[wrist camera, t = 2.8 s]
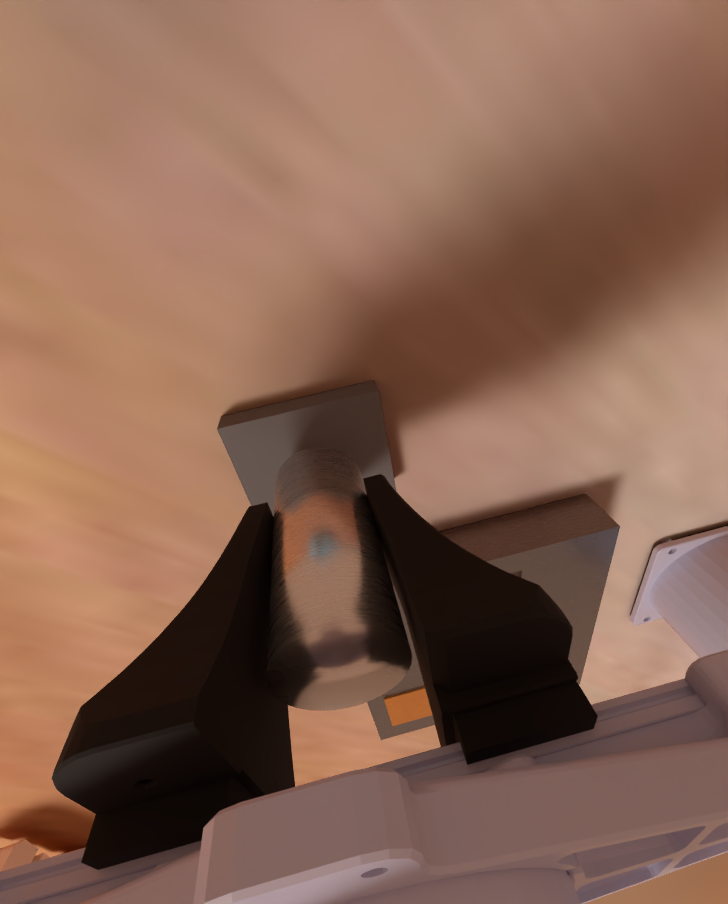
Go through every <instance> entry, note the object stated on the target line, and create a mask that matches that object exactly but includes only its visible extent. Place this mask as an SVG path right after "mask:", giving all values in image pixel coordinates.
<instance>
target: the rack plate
mask: <svg viewBox="0 0 728 904" xmlns="http://www.w3.org/2000/svg"><path fill="white" fill-rule="evenodd" d="M619 528H620V526H619V525H618V524H617V523H616V522H615V521H614V520H613V519H612V518H611V517H610V516H609V515H608V514H606V513H605V512H604V511H603V510H602V509H601V508H600V507H599V506H598V505H597V504H596V503H595V502H594V501H593V500H592V499H591V498H590V497H589V496H587V495H586V494H584V495H580V496H576V497H572V498H568V499H565V500H561V501H557V502H553V503H549V504H545V505H541V506H537V507H534V508H530V509H526V510H522V511H518V512H514V513H510V514H507V515H503V516H499V517H495V518H491V519H487V520H483V521H479V522H476V523H472V524H468V525H464V526H460V527H456V528H452V529H449V530H445V531H441V532H440V533H442V534H443V535H444V536H446V537H447V538H449V539H450V540H451V541H453V542H454V543H456V544H457V545H459V546H460V547H462V548H463V549H465V550H467V551H469V552H470V553H472V554H474V555H476V556H477V557H479V558H481V559H483V560H484V561H486V562H488V563H490V564H492V565H494V566H496V567H498V568H500V569H502V570H504V571H506V572H508V573H511V574H513V575H516V576H518V577H520V578H523V579H525V580H528V581H530V582H533V583H535V584H538V585H540V586H541V587H542V589H543V590H544V591H545V592H546V593H547V594H548V595H549V596H550V597H551V598H552V599H553V601H554V602H555V603H556V604H557V605H558V606H559V608H560V609H561V610H562V612H563V613H564V614H565V616H566V617H567V619H568V621H569V622H570V624H571V626H572V627H573V637H572V642H571V647H570V652H569V657H568V660H569V661H570V663H571V665H572V666H573V668H574V669H575V671H576V673H577V675H578V680H576V681H577V683H578V684H580V681H581V677H582V673H583V669H584V665H585V662H586V658H587V654H588V650H589V646H590V642H591V638H592V634H593V630H594V626H595V622H596V618H597V615H598V611H599V607H600V603H601V599H602V595H603V591H604V587H605V583H606V579H607V575H608V572H609V568H610V564H611V560H612V556H613V552H614V548H615V544H616V540H617V536H618V532H619ZM390 578H391V577H390ZM391 581H392V579H391ZM392 585H393V582H392ZM393 588H394V592H395V595H396V599H397V602H398V606H399V610H400V613H401V617H402V620H403V624H404V627H405V631H406V634H407V638H408V641H409V645H410V649H411V652H412V663H411V666H410V669H409V670H408V672H407V674H406V675H405V677H404V678H403V679H402V680H401V681H400V682H399V683H398V684H397V685H396V686H395V687H393V688H392V689H391V690H389V691H388V692H386V693H385V694H383V695H381V696H379V697H377V698H375V699H373V700H371V701H368V702H367V703H368V705H369V708H370V711H371V714H372V716H373V719H374V722H375V725H376V727H377V730H378V733H379V736H380V738H381V740H383V739H386V738H390V737H393V736H397V735H400V734H404V733H407V732H411V731H414V730H418V729H422V728H425V727H429V726H432V725H435V723H434V719H433V715H432V711H431V708H430V704H429V701H428V697H427V693H426V690H425V686H424V682H423V679H422V675H421V671H420V668H419V664H418V660H417V657H416V653H415V650H414V646H413V642H412V639H411V635H410V632H409V628H408V625H407V621H406V618H405V615H404V612H403V609H402V606H401V603H400V600H399V598H398V595H397V593H396V590H395V587H394V585H393Z"/></svg>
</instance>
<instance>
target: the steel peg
mask: <svg viewBox="0 0 728 904" xmlns="http://www.w3.org/2000/svg"><path fill="white" fill-rule="evenodd" d="M411 663H412V652H411V649H410V645H409V641H408V638H407V634H406V631H405V627H404V624H403V620H402V617H401V613H400V610H399V606H398V602H397V599H396V595H395V592H394V588H393V585H392V581H391V578H390V574H389V571H388V567H387V563H386V560H385V556H384V553H383V549H382V546H381V542H380V539H379V535H378V532H377V528H376V525H375V521H374V518H373V516H372V512H371V508H370V505H369V501H368V498H367V494H366V489H365V485H364V482H363V478H362V475H361V472H360V469H359V467H358V465H357V464H356V462H355V461H354V460H353V459H352V458H351V457H350V456H348V455H347V454H345V453H344V452H342V451H339V450H336V449H333V448H327V447H315V448H309V449H306V450H302V451H300V452H298V453H296V454H294V455H292V456H291V457H290V458H288V459H287V460H286V461H285V462H284V463H283V465H282V466H281V467H280V469H279V471H278V473H277V476H276V480H275V499H274V522H273V545H272V569H271V592H270V615H269V639H268V662H267V685H268V688H269V690H270V691H271V693H272V694H273V695H274V696H275V697H276V698H277V699H278V700H280V701H282V702H283V703H285V704H288V705H290V706H293V707H296V708H301V709H306V710H336V709H343V708H348V707H352V706H356V705H359V704H363V703H365V702H368V701H371V700H373V699H375V698H377V697H379V696H381V695H383V694H385V693H386V692H388V691H389V690H391V689H392V688H393V687H395V686H396V685H397V684H398V683H399V682H400V681H401V680H402V679H403V678H404V677H405V675H406V674H407V672H408V670H409V669H410V666H411Z"/></svg>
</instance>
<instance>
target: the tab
mask: <svg viewBox="0 0 728 904" xmlns="http://www.w3.org/2000/svg"><path fill="white" fill-rule="evenodd" d="M217 430H218V432H219V434H220V436H221V439H222V441H223V443H224V445H225V448H226V450H227V452H228V454H229V457H230V459H231V461H232V463H233V465H234V468H235V470H236V472H237V474H238V477H239V479H240V481H241V483H242V486H243V488H244V490H245V492H246V495H247V497H248V499H249V501H250V503H251V506H254V505H258V504H262V503H266V502H268V505H269V507H270V510H271V512H272V515H273V517H274V499H275V480H276V476H277V473H278V471H279V469H280V467H281V466H282V465H283V463H284V462H285V461H286V460H287V459H288V458H290V457H291V456H292V455H294V454H296V453H298V452H300V451H302V450H306V449H309V448H315V447H327V448H333V449H336V450H339V451H342V452H344V453H345V454H347V455H348V456H350V457H351V458H352V459H353V460H354V461H355V462H356V464H357V465H358V467H359V469H360V472H361V475H362V478H367V477H371V476H375V475H379V474H382V475H383V476H385V478H386V479H387V481H388V482H389V483H390V485H391V486H392V487H393V488H394V490H395V491H396V487H395V481H394V475H393V469H392V463H391V458H390V452H389V446H388V440H387V434H386V428H385V422H384V416H383V411H382V405H381V399H380V393H379V389H378V387H377V385H376V383H375V382H374V380H373V381H369V382H364V383H360V384H356V385H352V386H348V387H343V388H339V389H335V390H331V391H327V392H322V393H318V394H314V395H310V396H306V397H301V398H297V399H293V400H289V401H285V402H280V403H276V404H272V405H268V406H263V407H259V408H255V409H251V410H247V411H242V412H238V413H234V414H230V415H226V416H221V418H220V422H219V425H218V428H217ZM363 482H364V481H363Z"/></svg>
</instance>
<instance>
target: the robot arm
mask: <svg viewBox="0 0 728 904" xmlns="http://www.w3.org/2000/svg"><path fill="white" fill-rule="evenodd" d="M363 481H364V485H365V489H366V494H367V498H368V501H369V505H370V508H371V512H372V516H373V518H374V521H375V525H376V528H377V532H378V535H379V539H380V542H381V546H382V549H383V553H384V556H385V560H386V563H387V567H388V571H389V574H390V577H391V579H392V582H393V585H394V587H395V590H396V593H397V595H398V598H399V600H400V603H401V606H402V609H403V612H404V615H405V618H406V621H407V625H408V628H409V632H410V635H411V639H412V642H413V646H414V650H415V653H416V657H417V660H418V664H419V668H420V671H421V675H422V679H423V682H424V686H425V690H426V693H427V697H428V701H429V704H430V708H431V711H432V715H433V719H434V723H435V726H436V730H437V734H438V737H439V741H440V745H441V747H440V748H437V749H433V750H429V751H426V752H422V753H419V754H415V755H412V756H408V757H405V758H401V759H398V760H394V761H390V762H387V763H383V764H380V765H376V766H373V767H369V768H366V769H361V770H355V771H350V772H346V773H342V774H339V775H335V776H332V777H328V778H325V779H321V780H318V781H314V782H311V783H307V784H303V785H300V786H296V787H295V781H294V771H293V761H292V752H291V740H290V728H289V717H288V704H285V703H283V702H282V701H280V700H278V699H277V698H276V697H275V696H274V695H273V694H272V693H271V691H270V690H269V688H268V685H267V662H268V639H269V615H270V592H271V569H272V545H273V522H274V517H273V515H272V512H271V510H270V507H269V505H268V502H266V503H262V504H258V505H254V506H250V507H249V508H248V509H247V511H246V513H245V515H244V516H243V518H242V520H241V522H240V524H239V525H238V527H237V529H236V531H235V533H234V534H233V536H232V538H231V540H230V541H229V543H228V545H227V547H226V548H225V550H224V552H223V553H222V555H221V557H220V558H219V560H218V561H217V563H216V564H215V566H214V567H213V569H212V570H211V572H210V573H209V575H208V577H207V578H206V580H205V581H204V582H203V584H202V585H201V587H200V588H199V589H198V591H197V592H196V593H195V595H194V596H193V597H192V598H191V600H190V601H189V602H188V603H187V605H186V606H185V607H184V608H183V609H182V611H181V612H180V613H179V614H178V615H177V616H176V617H175V618H174V620H173V621H172V622H171V623H170V624H169V625H168V626H167V627H166V628H165V630H164V631H163V632H162V633H161V634H160V635H159V636H158V637H157V638H156V639H155V640H154V641H153V642H152V643H151V644H150V645H149V646H148V647H147V648H146V649H145V650H144V651H143V652H142V653H141V654H140V655H139V656H138V657H137V658H136V659H135V660H134V661H133V662H132V663H131V664H130V665H129V666H128V667H127V668H125V669H124V670H123V671H122V672H121V673H120V674H119V675H118V676H117V677H115V678H114V679H113V680H112V681H111V682H110V683H108V684H107V685H106V686H105V687H104V688H103V689H101V690H100V691H99V692H98V693H97V694H96V695H94V696H93V697H92V698H91V699H90V700H89V701H87V702H86V703H85V704H84V705H82V706H81V708H80V710H79V712H78V714H77V716H76V719H75V721H74V723H73V726H72V728H71V730H70V733H69V735H68V738H67V740H66V743H65V745H64V747H63V750H62V752H61V755H60V757H59V760H58V762H57V764H56V767H55V769H54V772H53V776H52V780H53V782H54V785H55V787H56V789H57V790H58V791H59V792H61V793H62V794H63V795H64V796H66V797H68V798H69V799H71V800H73V801H74V802H76V803H78V804H80V805H81V806H83V807H85V808H87V809H88V810H90V811H92V812H94V813H95V814H96V816H95V820H94V823H93V826H92V829H91V832H90V835H89V839H88V842H87V845H86V847H85V848H82V849H78V850H75V851H71V852H68V853H64V854H61V855H57V856H53V857H50V858H46V859H43V860H39V861H36V862H32V863H29V864H25V865H22V866H18V867H14V868H11V869H7V870H4V871H0V904H584V903H587V902H590V901H593V900H596V899H598V898H601V897H604V896H607V895H609V894H612V893H615V892H618V891H621V890H623V889H626V888H629V887H632V886H634V885H637V884H640V883H643V882H645V881H648V880H651V879H654V878H657V877H659V876H662V875H665V874H667V873H670V872H673V871H676V870H679V869H681V868H684V867H687V866H690V865H693V864H695V863H698V862H701V861H703V860H706V859H709V858H712V857H715V856H718V855H721V854H723V853H726V852H728V526H725V527H721V528H718V529H714V530H710V531H706V532H703V533H699V534H695V535H691V536H688V537H684V538H680V539H677V540H673V541H669V542H665V543H662V544H659V545H657V546H656V547H655V548H654V549H653V551H652V554H651V557H650V560H649V563H648V566H647V569H646V572H645V575H644V578H643V581H642V584H641V587H640V590H639V593H638V596H637V599H636V602H635V605H634V608H633V611H632V614H631V617H630V621H631V622H632V623H633V624H634V625H640V624H644V623H647V622H651V621H655V620H658V619H662V618H663V619H664V620H665V621H666V622H667V623H668V624H669V625H670V626H671V627H672V629H673V630H674V631H675V632H676V633H677V634H678V635H679V636H680V637H681V638H682V639H683V640H684V642H685V643H686V644H687V645H688V646H689V647H690V648H691V649H692V650H693V651H694V652H695V653H696V655H697V656H698V657H699V659H698V660H696V661H695V662H693V663H692V664H691V665H690V666H689V668H688V670H687V672H686V676H685V679H681V680H678V681H674V682H671V683H667V684H664V685H660V686H656V687H653V688H649V689H646V690H642V691H639V692H635V693H632V694H628V695H625V696H621V697H617V698H614V699H610V700H607V701H603V702H600V703H596V704H593V705H591V704H590V702H589V701H588V699H587V697H586V696H585V694H584V693H583V691H582V689H581V688H580V686H579V684H578V683H577V681H576V680H578V675H577V673H576V671H575V669H574V668H573V666H572V665H571V663H570V661H569V660H568V657H569V652H570V647H571V642H572V637H573V627H572V626H571V624H570V622H569V621H568V619H567V617H566V616H565V614H564V613H563V612H562V610H561V609H560V608H559V606H558V605H557V604H556V603H555V602H554V601H553V599H552V598H551V597H550V596H549V595H548V594H547V593H546V592H545V591H544V590H543V589H542V587H541V586H540V585H538V584H535V583H533V582H530V581H528V580H525V579H523V578H520V577H518V576H516V575H513V574H511V573H508V572H506V571H504V570H502V569H500V568H498V567H496V566H494V565H492V564H490V563H488V562H486V561H484V560H483V559H481V558H479V557H477V556H476V555H474V554H472V553H470V552H469V551H467V550H465V549H463V548H462V547H460V546H459V545H457V544H456V543H454V542H453V541H451V540H450V539H449V538H447V537H446V536H444V535H443V534H442V533H440V532H439V531H438V530H436V529H435V528H434V527H433V526H431V525H430V524H429V523H428V522H427V521H426V520H424V519H423V518H422V517H421V516H420V515H419V514H418V513H416V512H415V511H414V510H413V509H412V508H411V507H410V506H409V505H408V504H407V503H406V502H405V501H404V500H403V499H402V498H401V496H400V495H399V494H398V493H397V492H396V491H395V490H394V488H393V487H392V486H391V485H390V483H389V482H388V481H387V479H386V478H385V476H383V475H382V474H379V475H375V476H371V477H367V478H363Z"/></svg>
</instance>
